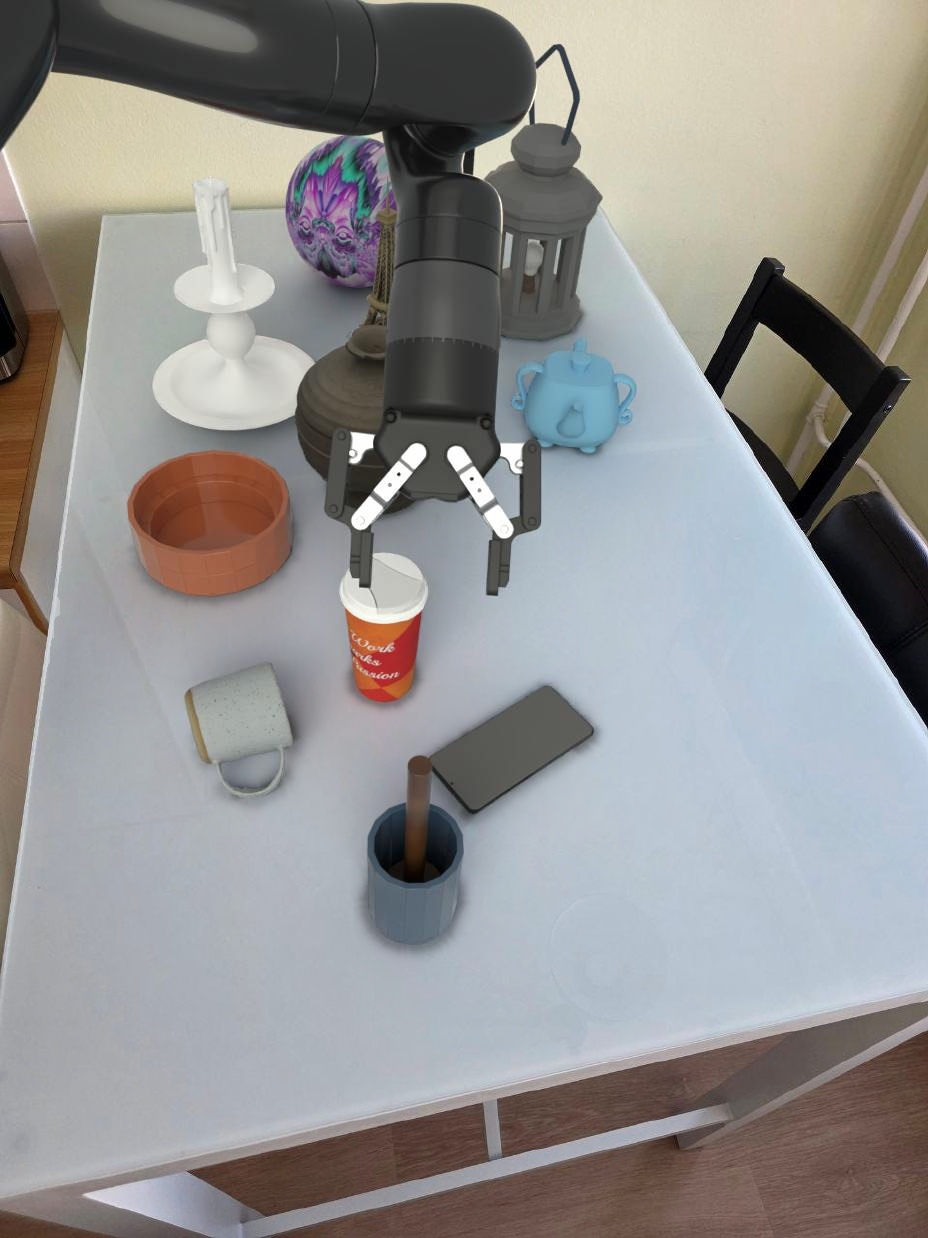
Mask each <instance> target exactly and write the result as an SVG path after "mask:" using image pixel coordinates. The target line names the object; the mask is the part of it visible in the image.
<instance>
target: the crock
mask: <svg viewBox="0 0 928 1238" xmlns="http://www.w3.org/2000/svg"><path fill="white" fill-rule="evenodd" d="M405 822H406V801H403V802H402V803H399V804H396V805H394V806H390V807H389V808H387V809H386V810H385V811H384V812H383V813H382V814H381V815H379V816H378V817H377V818H376V819H375V820H374V821H373V824H372V826H371V828H370V830H369V832H368V835H367V841H366V842H367V843H366V845H367V846H366V847H367V848H366V852H367V853H366V858H367V863H366V864H367V890H368V891H367V894H368V899H367V900H368V909H369V914H370V917H371V919H372V922H373V924H374V925H375V927H376V928H377V929H378V931H379V932H380V933H381V934H382V935H383V936H385V937H386V938H388V939H389V940H391V941H394V942H395V943H399V944H403V945H409V946H410V945H412V946H413V945H420V944H421V945H422V944H425V943H428V942H430V941H432V940H435V939H437V937H439V936H441V935H442V934H443V933H444V932H445V931H446V930H447V929H448V927H449V926H450V924H451V922H452V920H453V918H454V915H455V913H456V912H455V911H456V908H457V903H458V898H459V897H458V896H459V891H460V890H459V889H460V883H461V877H462V876H461V875H462V867H463V860H464V854H465V846H464V845H465V844H464V834H463V832H462V830H461V828H460V826H459V824H458V822H457V819H455V818H454V817H453V816H452V815H451V814H449V813H448V812H447V810H445V809H444V808H442V807H441V806H438V805H435V804H432V803H430V806H429V820H428V833H427V846H426V860H425V861H427V862H429V863H431V864H432V865H433V866H435V867H436V868H437V870H438V871H439V872H440V874H441V876H440V877H438V878H435V879H433V880H430V881H428V882H426V883H406V882H403V881H401V880H398V879H395V878H393V877H391V876H390V875H389V874H388V873H387V872H388V870H389V869H390V868H391V867H392V866H393V865H395V864H396V863H398V862H400V861H402V860H404V849H405Z"/></svg>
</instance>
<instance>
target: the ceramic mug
mask: <svg viewBox="0 0 928 1238" xmlns="http://www.w3.org/2000/svg"><path fill="white" fill-rule="evenodd" d="M184 703H185V710H186V714H187V717H188V721H189V725H190V729H191V732H192V737H193V740H194V743H195V747H196V750H197V753H198V755H199V758H200V759H201V760H202V761H203V762H204V763H206V764H209V765H214V767H215V771H216V774H217V776H218V779H219V781H220V783H221V785H222V786H223V787H224V788H225V790H227V791H228V792H229V793H230V794H232V795H234V796H236V797H239V798H243V799H255V798H260V797H262V796H265V795H267V794H269V793H270V792H272V791H273V790H275V789H276V788H277V787H278V785H279V784H280V782H281V780H282V778H283V776H284V773H285V769H286V749H287V748H289V747H292V746H293V745H294V739H293V733H292V728H291V725H290V720H289V716H288V713H287V712H288V711H287V709H286V705H285V701H284V698H283V695H282V691H281V687H280V685H279V682H278V678H277V675H276V672H275V668H274V665H273V663H272V662H270V661H266V662H263V663H260V664H257V665H253V666H251V667H248V668H244V669H240V670H238V671H234V672H230V673H229V674H225V675H222V676H219V677H214V678H212V679H207V680H205V681H202V682H200V683H198V684H195V685H194V686H192V687H190V688H188V689H187V690H186V692H185V693H184ZM273 751H279V753H280V757H279V759H280V760H279V768H278V770H277V773H276V774H275V775H274V778H272V780H271V782H270V783H269V784H268V785H267V786H262V787H256V788H249V787H246V786H245V787H242V788H240V787H237V786H233V785H232V784H231V783H229V781H227V780H226V777H225V775H224V774H223V770H222V764H225V763H230V762H235V761H236V760H239V759H243V758H246V757H247V758H248V757H252V756H256V755H261V754H267V753H271V752H273Z"/></svg>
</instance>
